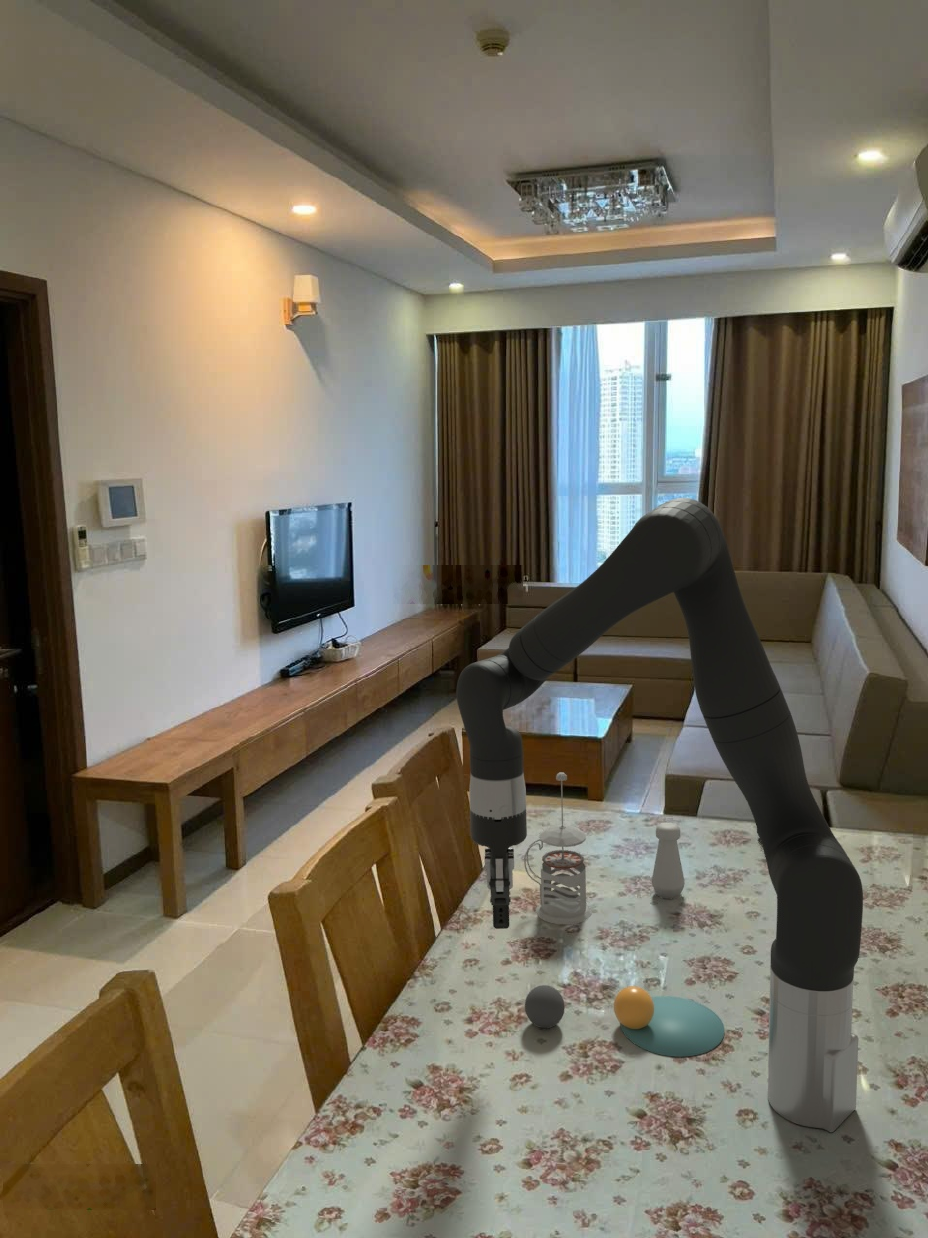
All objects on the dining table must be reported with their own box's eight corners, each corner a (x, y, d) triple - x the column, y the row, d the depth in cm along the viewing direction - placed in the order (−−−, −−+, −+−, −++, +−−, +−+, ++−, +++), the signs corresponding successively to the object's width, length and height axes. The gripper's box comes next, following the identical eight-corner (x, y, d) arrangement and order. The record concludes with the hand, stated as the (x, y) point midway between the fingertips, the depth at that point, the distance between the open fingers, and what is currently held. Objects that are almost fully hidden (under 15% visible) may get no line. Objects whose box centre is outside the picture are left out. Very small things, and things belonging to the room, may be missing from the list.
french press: (586, 927, 161) (584, 784, 157) (518, 919, 165) (515, 779, 161) (597, 901, 170) (595, 765, 166) (533, 894, 174) (530, 761, 170)
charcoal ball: (511, 997, 133) (523, 1033, 134) (542, 1002, 129) (554, 1039, 130) (535, 975, 137) (547, 1010, 138) (565, 979, 133) (577, 1015, 134)
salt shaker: (661, 884, 176) (661, 816, 174) (690, 892, 173) (690, 823, 170) (645, 896, 172) (645, 826, 170) (675, 904, 168) (675, 833, 166)
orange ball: (599, 1009, 133) (624, 1038, 133) (624, 1009, 128) (650, 1039, 129) (618, 978, 136) (642, 1006, 137) (643, 977, 132) (668, 1006, 132)
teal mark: (744, 1025, 132) (744, 1023, 132) (685, 1070, 123) (685, 1069, 123) (659, 986, 142) (659, 985, 142) (599, 1026, 133) (599, 1025, 133)
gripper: (471, 788, 135) (475, 904, 138) (468, 824, 122) (472, 951, 125) (524, 787, 135) (527, 903, 138) (527, 823, 122) (530, 950, 125)
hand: (501, 926), depth 131 cm, fingers closed
